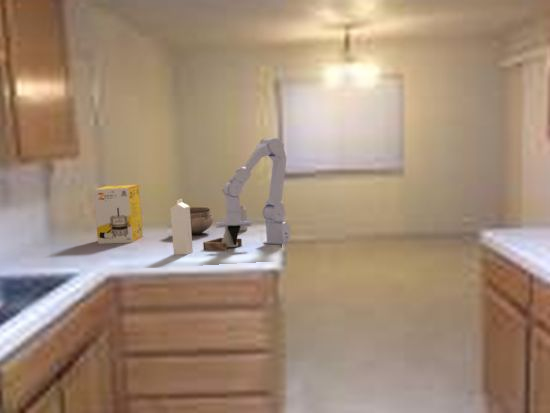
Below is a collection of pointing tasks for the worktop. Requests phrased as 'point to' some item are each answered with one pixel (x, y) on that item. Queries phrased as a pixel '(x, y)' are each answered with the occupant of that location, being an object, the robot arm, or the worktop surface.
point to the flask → (228, 238)
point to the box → (218, 244)
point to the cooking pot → (200, 219)
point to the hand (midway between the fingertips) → (235, 244)
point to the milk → (181, 228)
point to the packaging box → (118, 214)
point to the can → (243, 218)
